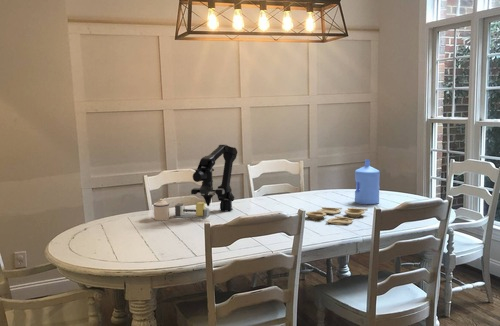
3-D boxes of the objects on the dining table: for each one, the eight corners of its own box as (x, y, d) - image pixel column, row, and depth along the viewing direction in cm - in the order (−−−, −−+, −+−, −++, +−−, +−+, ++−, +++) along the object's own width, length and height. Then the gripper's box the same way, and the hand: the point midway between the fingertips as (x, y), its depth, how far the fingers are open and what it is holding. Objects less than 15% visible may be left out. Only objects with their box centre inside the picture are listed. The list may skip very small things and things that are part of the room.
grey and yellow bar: (210, 215, 276) (209, 203, 275) (206, 218, 268) (205, 206, 268) (179, 214, 280) (179, 202, 279) (174, 217, 272) (174, 205, 271)
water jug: (382, 201, 307) (383, 159, 304) (374, 205, 294) (375, 161, 291) (359, 199, 316) (359, 158, 312) (351, 203, 303) (351, 160, 299)
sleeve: (205, 214, 275) (204, 202, 274) (202, 215, 270) (202, 204, 270) (198, 213, 276) (198, 202, 275) (196, 215, 271) (195, 204, 270)
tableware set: (325, 209, 290) (325, 202, 289) (370, 214, 273) (370, 207, 272) (297, 220, 261) (297, 213, 261) (345, 227, 244) (345, 220, 244)
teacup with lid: (172, 219, 269) (171, 199, 267) (158, 221, 263) (157, 201, 262) (163, 215, 278) (162, 196, 277) (149, 217, 273) (148, 198, 271)
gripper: (187, 181, 264) (188, 208, 265) (219, 181, 260) (220, 209, 262) (193, 178, 274) (194, 204, 276) (224, 178, 271) (225, 205, 273)
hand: (208, 205), depth 272 cm, fingers closed
